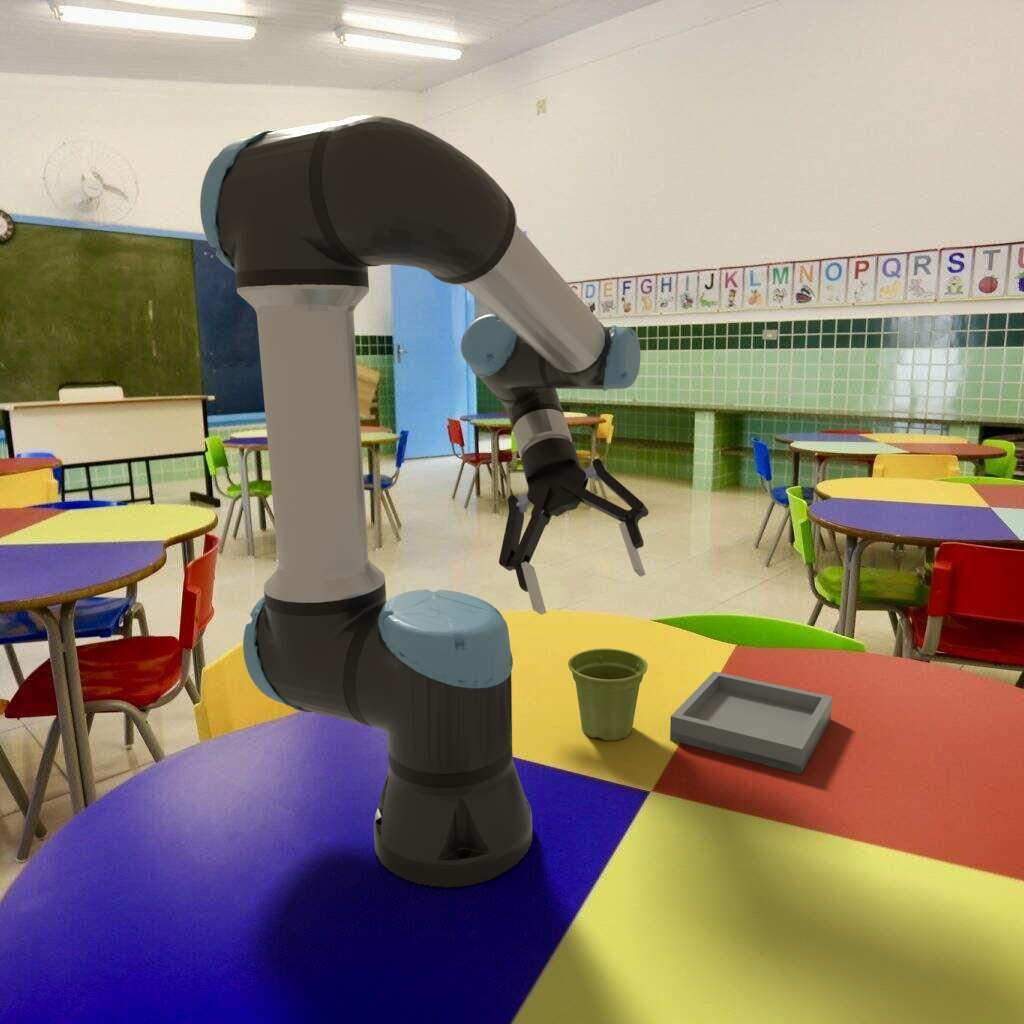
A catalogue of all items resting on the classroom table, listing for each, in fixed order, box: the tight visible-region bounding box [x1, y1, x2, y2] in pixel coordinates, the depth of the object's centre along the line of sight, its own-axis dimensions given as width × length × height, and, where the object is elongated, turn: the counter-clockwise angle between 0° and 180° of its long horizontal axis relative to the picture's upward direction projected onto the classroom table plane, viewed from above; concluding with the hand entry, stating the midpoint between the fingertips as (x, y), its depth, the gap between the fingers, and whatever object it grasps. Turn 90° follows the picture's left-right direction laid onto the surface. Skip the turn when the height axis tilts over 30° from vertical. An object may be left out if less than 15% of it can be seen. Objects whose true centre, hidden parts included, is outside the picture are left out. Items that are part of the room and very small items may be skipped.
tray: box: [669, 671, 833, 775], centre depth 97 cm, size 15×15×3 cm
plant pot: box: [567, 647, 649, 742], centre depth 97 cm, size 9×9×9 cm
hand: (589, 592), depth 100 cm, fingers open, 13 cm apart
